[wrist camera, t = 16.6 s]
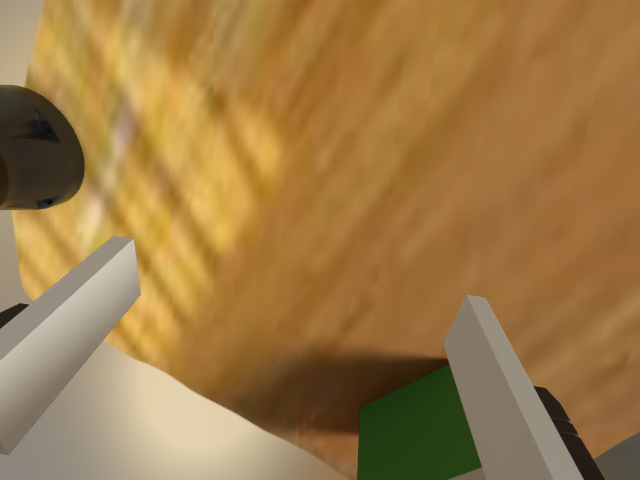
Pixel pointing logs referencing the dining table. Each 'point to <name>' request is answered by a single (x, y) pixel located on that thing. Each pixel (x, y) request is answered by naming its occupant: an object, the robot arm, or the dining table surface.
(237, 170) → the dining table surface
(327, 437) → the dining table surface
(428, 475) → the green white box
